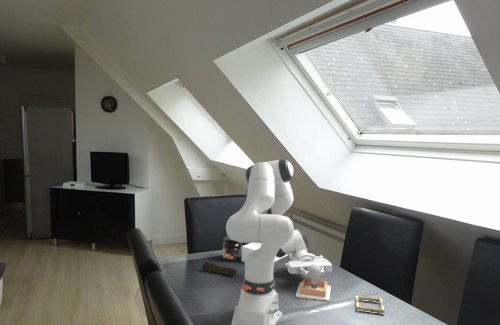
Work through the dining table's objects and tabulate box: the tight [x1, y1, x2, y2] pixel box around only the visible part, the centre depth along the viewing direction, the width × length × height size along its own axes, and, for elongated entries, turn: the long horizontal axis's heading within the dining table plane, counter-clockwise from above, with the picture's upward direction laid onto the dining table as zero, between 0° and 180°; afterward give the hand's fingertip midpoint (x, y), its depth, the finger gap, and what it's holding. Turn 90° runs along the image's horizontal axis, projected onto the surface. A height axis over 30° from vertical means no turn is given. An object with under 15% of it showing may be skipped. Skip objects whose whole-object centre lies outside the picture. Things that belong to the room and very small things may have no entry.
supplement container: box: [222, 235, 243, 262], centre depth 197 cm, size 10×10×12 cm
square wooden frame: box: [355, 295, 386, 314], centre depth 143 cm, size 10×10×2 cm
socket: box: [295, 278, 332, 302], centre depth 156 cm, size 14×14×4 cm
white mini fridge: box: [241, 243, 289, 263], centre depth 199 cm, size 14×25×11 cm, turn 142°
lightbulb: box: [307, 264, 321, 289], centre depth 155 cm, size 6×6×11 cm
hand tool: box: [202, 261, 237, 278], centre depth 177 cm, size 19×4×5 cm, turn 61°
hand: (315, 273), depth 154 cm, fingers closed on lightbulb, 6 cm apart
